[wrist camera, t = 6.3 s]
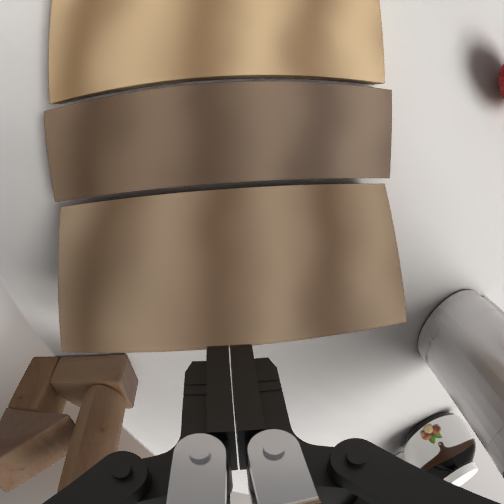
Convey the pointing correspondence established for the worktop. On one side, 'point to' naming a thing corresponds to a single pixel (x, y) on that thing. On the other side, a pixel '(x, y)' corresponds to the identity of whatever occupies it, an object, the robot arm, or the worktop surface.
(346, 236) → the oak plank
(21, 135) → the worktop surface
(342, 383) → the worktop surface
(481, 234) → the worktop surface
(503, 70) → the onion
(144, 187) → the mating board
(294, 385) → the worktop surface
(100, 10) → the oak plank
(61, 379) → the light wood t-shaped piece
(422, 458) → the spread jar
